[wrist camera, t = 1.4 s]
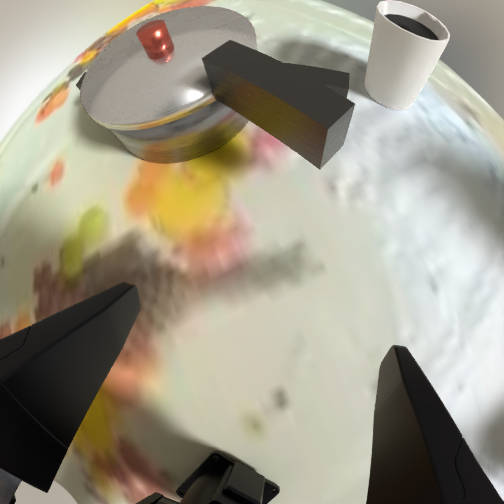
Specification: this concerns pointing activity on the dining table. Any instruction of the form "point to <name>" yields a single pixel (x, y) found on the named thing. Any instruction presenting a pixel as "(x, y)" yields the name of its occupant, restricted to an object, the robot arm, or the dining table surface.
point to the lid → (211, 81)
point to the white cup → (402, 53)
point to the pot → (205, 125)
